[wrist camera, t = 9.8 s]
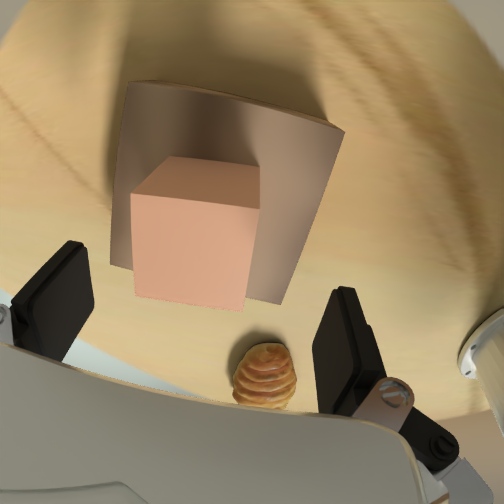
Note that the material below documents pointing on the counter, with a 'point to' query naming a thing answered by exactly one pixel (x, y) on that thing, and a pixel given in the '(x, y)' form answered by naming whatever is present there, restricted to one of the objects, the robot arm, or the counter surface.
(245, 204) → the terracotta block
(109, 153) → the counter surface
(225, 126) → the taupe streaked block
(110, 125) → the counter surface
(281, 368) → the pastry
